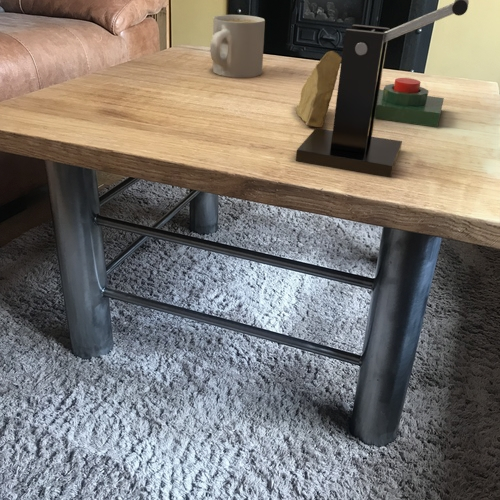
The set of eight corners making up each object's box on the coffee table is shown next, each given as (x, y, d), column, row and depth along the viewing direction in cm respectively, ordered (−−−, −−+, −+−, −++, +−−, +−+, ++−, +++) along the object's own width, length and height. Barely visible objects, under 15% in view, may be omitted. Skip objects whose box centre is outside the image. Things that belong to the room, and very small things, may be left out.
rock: (338, 119, 80) (364, 95, 87) (307, 66, 78) (336, 46, 85) (284, 148, 87) (312, 124, 94) (254, 100, 86) (285, 79, 92)
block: (441, 110, 95) (446, 87, 93) (437, 127, 87) (442, 101, 85) (370, 101, 98) (374, 78, 96) (360, 116, 90) (364, 91, 88)
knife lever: (471, 10, 64) (465, -11, 63) (470, 15, 60) (464, -7, 59) (361, 55, 70) (355, 36, 69) (354, 62, 66) (347, 43, 65)
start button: (419, 90, 92) (421, 79, 91) (417, 96, 89) (419, 85, 88) (394, 87, 93) (396, 76, 92) (391, 92, 90) (393, 81, 89)
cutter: (400, 151, 76) (423, 28, 68) (390, 177, 68) (415, 40, 60) (314, 137, 80) (327, 18, 72) (295, 160, 71) (307, 29, 63)
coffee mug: (237, 64, 119) (239, 13, 114) (272, 73, 113) (275, 20, 108) (189, 72, 110) (189, 18, 105) (224, 82, 105) (225, 25, 100)
